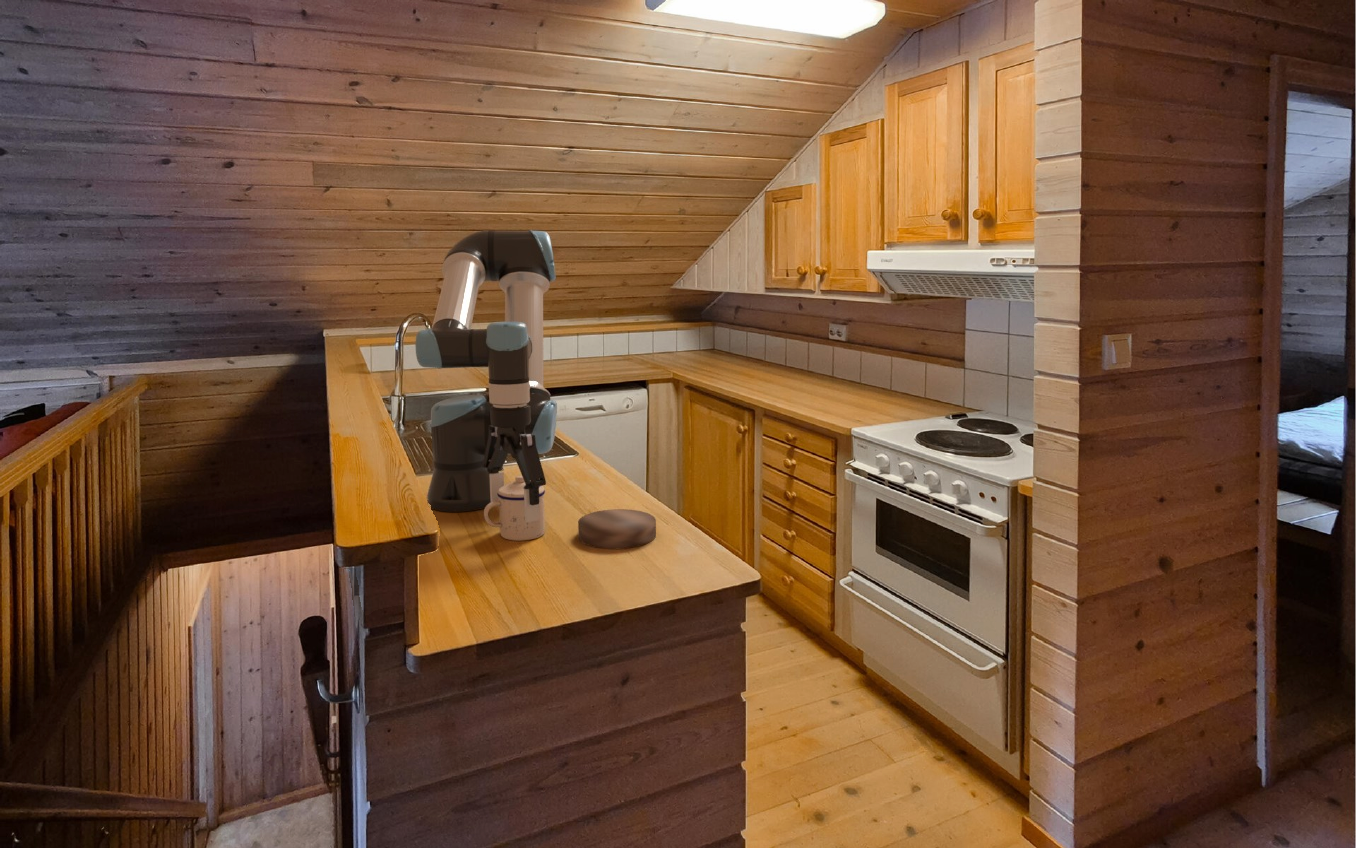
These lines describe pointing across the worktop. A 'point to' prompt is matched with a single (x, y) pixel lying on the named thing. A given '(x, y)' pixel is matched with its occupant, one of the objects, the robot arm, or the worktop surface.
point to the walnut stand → (617, 528)
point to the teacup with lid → (516, 513)
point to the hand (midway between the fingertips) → (514, 512)
